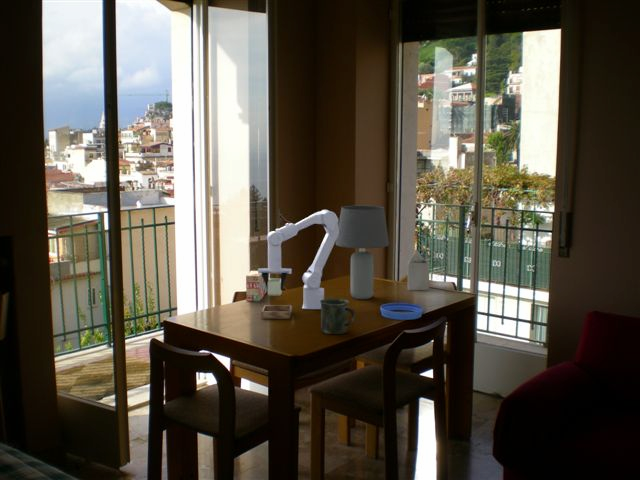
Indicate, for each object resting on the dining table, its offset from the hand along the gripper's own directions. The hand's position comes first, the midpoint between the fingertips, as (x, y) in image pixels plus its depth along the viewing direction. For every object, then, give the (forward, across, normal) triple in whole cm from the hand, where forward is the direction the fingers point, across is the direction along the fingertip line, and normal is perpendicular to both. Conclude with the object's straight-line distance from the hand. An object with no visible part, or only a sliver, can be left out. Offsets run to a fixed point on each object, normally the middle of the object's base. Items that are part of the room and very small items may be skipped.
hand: (274, 289), depth 301 cm
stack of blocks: (+9, +12, -27) cm, 31 cm away
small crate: (+2, 0, 0) cm, 2 cm away
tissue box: (+9, -69, -48) cm, 85 cm away
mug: (+9, -28, +35) cm, 46 cm away
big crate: (+9, -2, +10) cm, 14 cm away
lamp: (+9, -38, -26) cm, 47 cm away
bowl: (+9, -55, +7) cm, 56 cm away
